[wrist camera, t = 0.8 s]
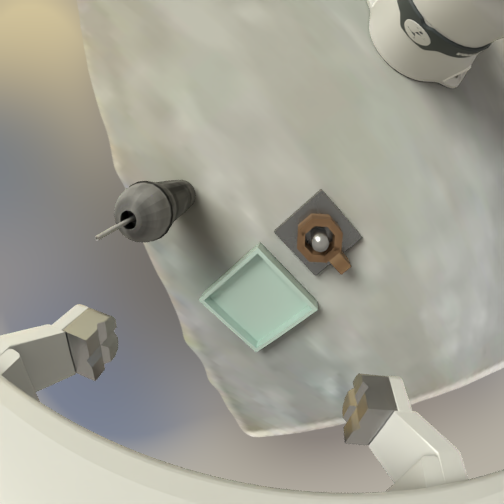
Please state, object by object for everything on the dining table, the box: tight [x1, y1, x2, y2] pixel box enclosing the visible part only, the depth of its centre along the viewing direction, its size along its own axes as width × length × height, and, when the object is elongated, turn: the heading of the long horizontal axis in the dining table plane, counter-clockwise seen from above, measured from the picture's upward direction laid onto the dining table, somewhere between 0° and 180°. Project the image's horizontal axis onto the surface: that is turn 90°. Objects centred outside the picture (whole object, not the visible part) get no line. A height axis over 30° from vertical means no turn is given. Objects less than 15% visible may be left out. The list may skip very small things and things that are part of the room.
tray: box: [199, 243, 318, 352], centre depth 47 cm, size 13×13×2 cm
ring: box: [297, 213, 351, 275], centre depth 41 cm, size 9×6×3 cm
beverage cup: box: [95, 180, 195, 242], centre depth 35 cm, size 7×7×20 cm
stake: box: [274, 189, 362, 275], centre depth 40 cm, size 9×9×5 cm
